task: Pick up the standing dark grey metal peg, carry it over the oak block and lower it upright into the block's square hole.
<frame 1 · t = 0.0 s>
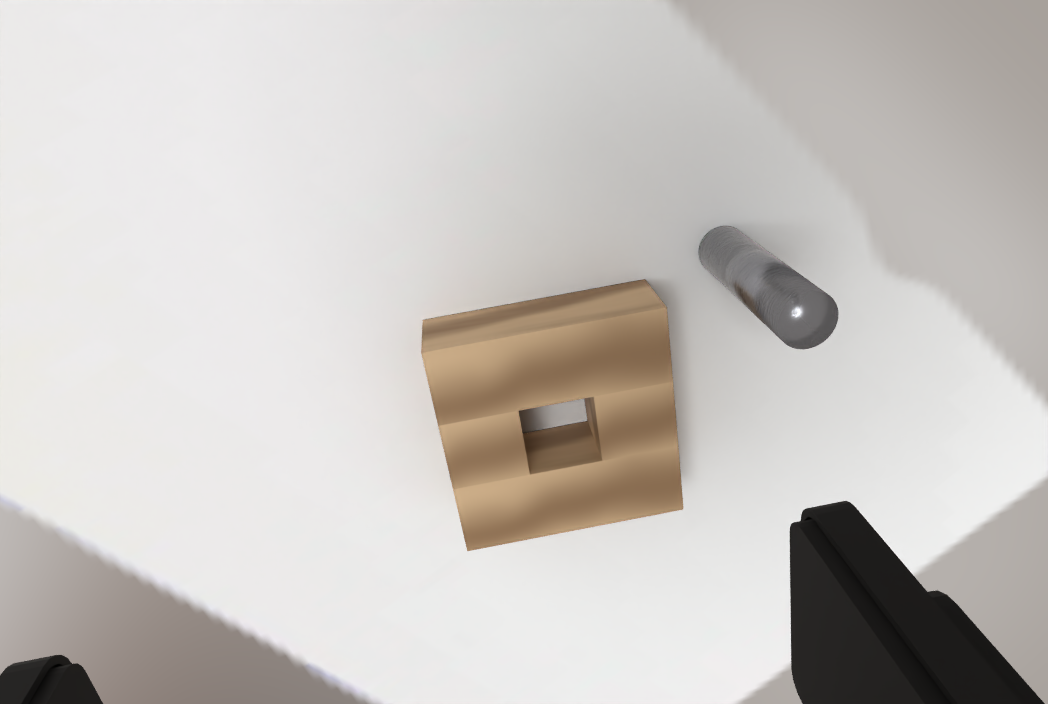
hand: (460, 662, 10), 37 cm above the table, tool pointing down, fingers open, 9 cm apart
peg: (722, 249, 47), on the table
hole block: (550, 398, 50), on the table
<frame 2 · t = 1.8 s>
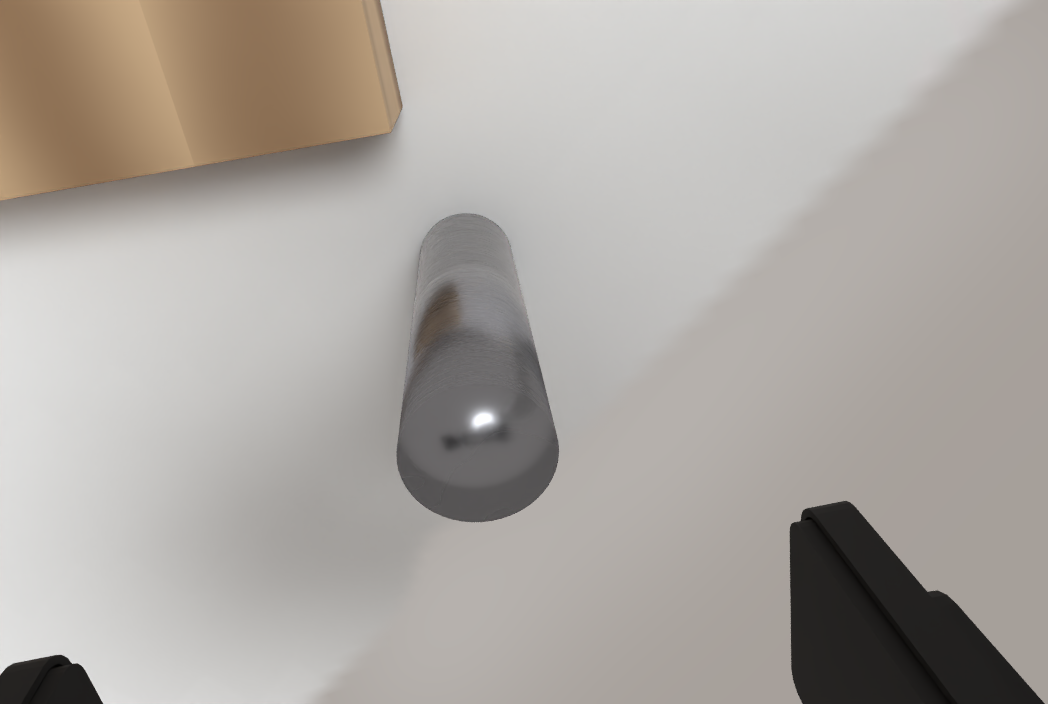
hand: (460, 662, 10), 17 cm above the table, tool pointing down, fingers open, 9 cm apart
peg: (466, 258, 25), on the table
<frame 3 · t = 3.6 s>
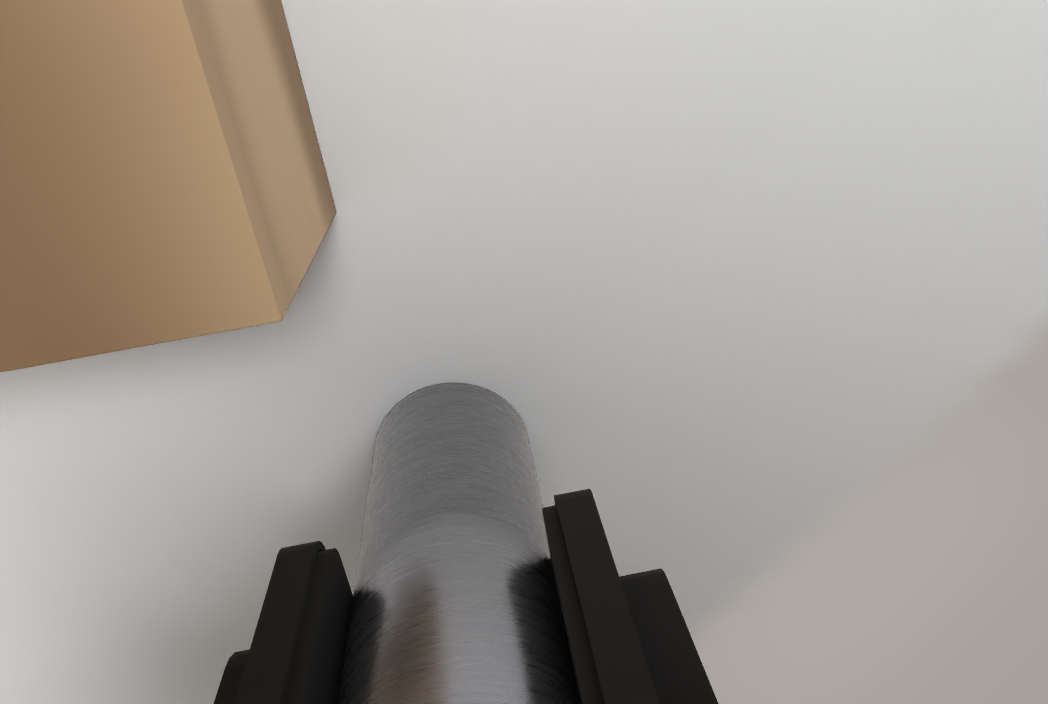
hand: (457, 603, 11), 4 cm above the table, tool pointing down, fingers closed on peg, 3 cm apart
peg: (452, 451, 15), on the table, touching gripper
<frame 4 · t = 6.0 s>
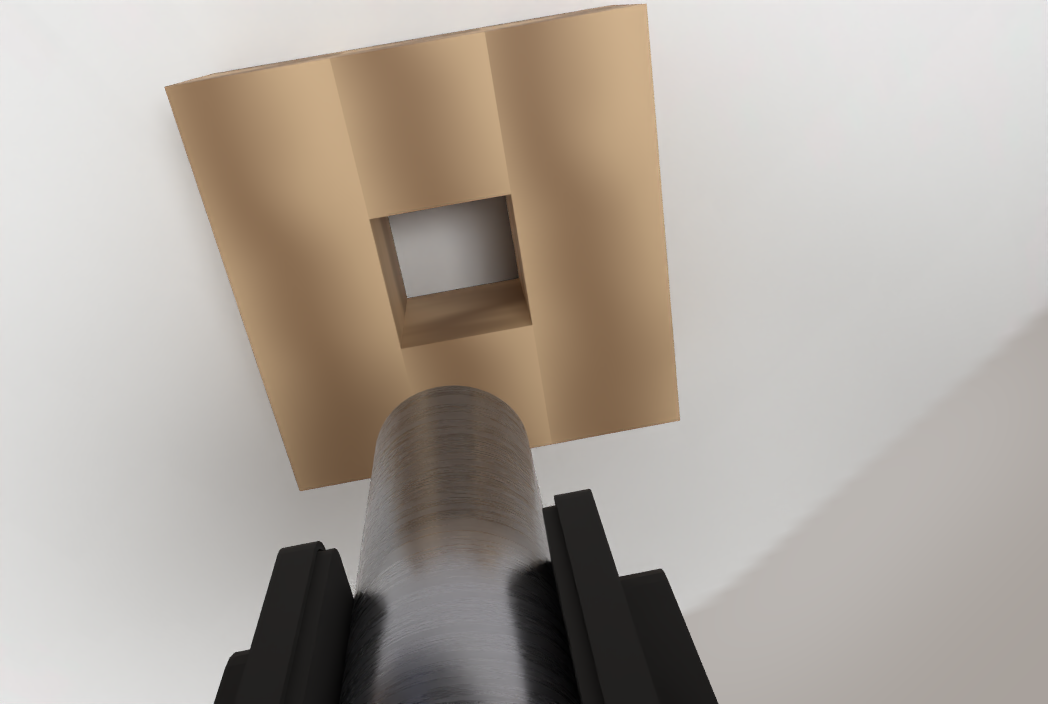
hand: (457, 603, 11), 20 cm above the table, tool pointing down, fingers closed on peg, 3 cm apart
peg: (453, 454, 15), point 16 cm above the table, touching gripper
hole block: (452, 233, 29), on the table
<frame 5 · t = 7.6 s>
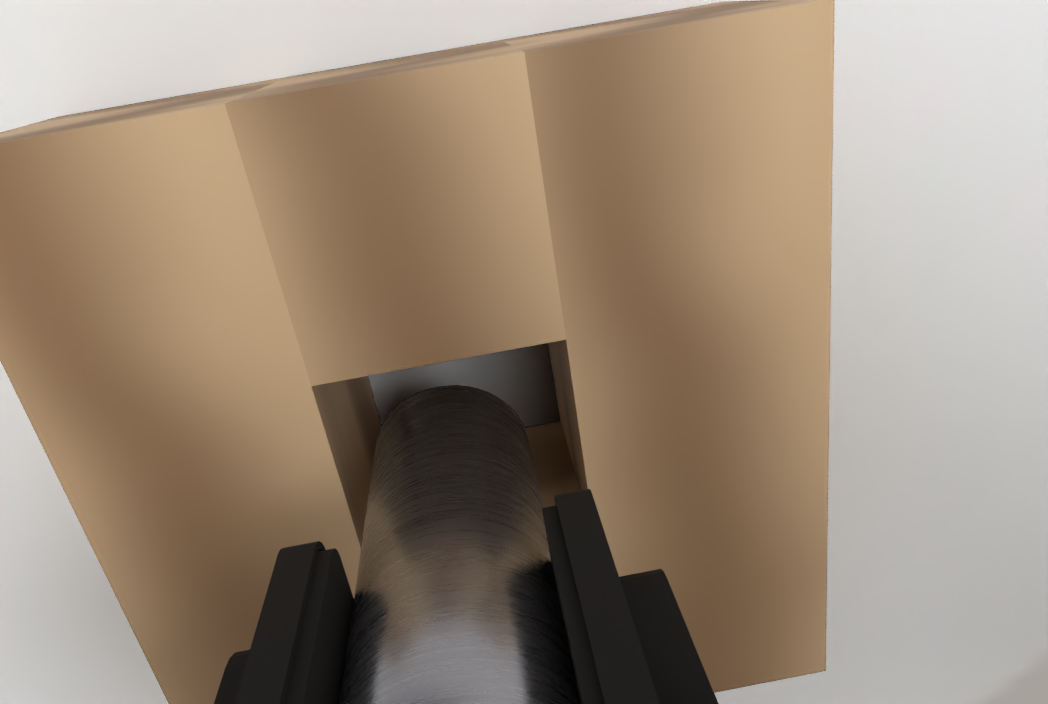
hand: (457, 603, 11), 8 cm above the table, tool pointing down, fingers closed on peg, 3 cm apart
peg: (452, 454, 15), point 4 cm above the table, touching gripper
hole block: (458, 359, 19), on the table
when the fingers open (6 cm above the table, at t = 8.7 s): peg drops 1 cm, resting in hole block.
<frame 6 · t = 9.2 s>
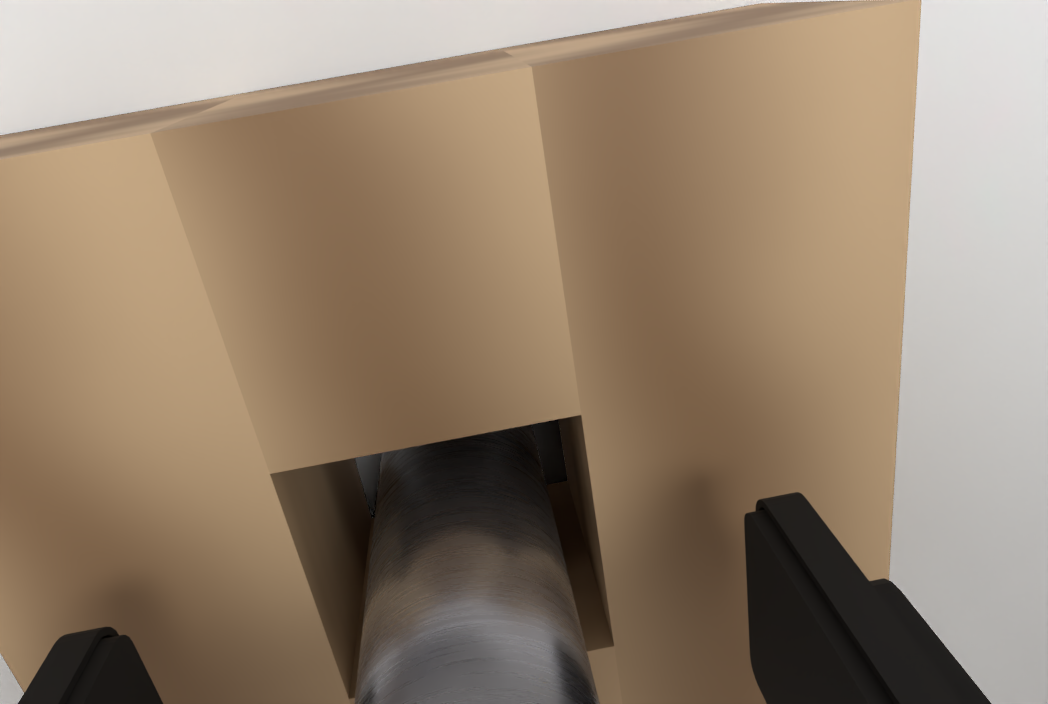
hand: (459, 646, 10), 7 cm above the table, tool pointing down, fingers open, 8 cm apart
peg: (457, 414, 16), resting in hole block
hole block: (450, 413, 16), on the table
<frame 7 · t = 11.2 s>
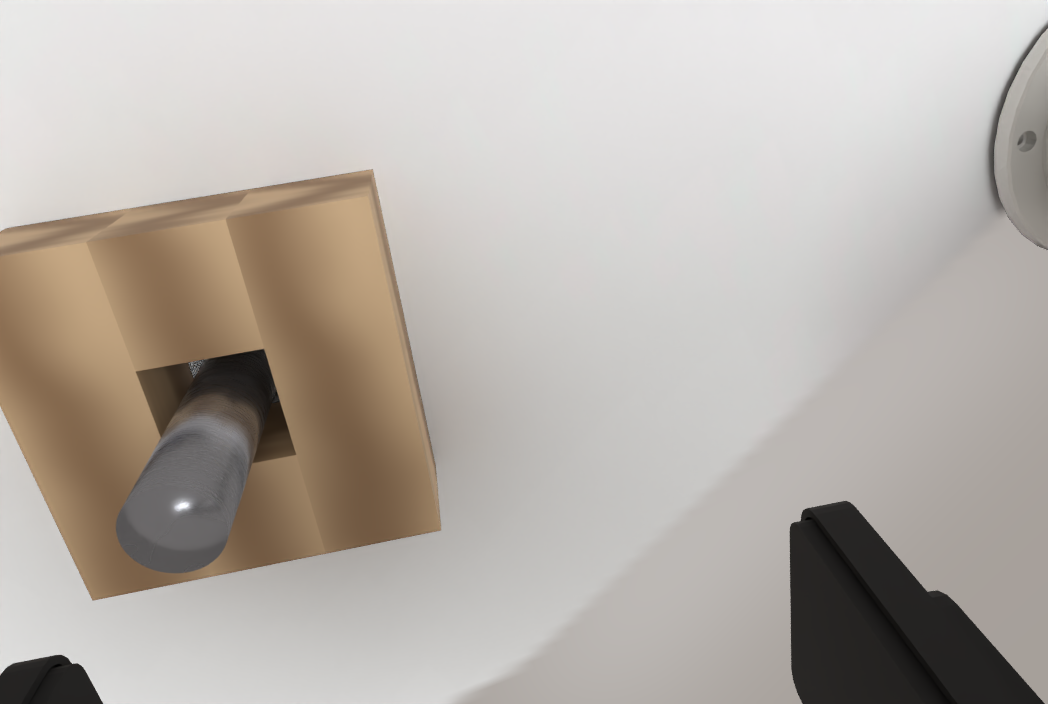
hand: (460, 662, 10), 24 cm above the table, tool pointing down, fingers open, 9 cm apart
peg: (247, 360, 33), resting in hole block
hole block: (243, 359, 33), on the table
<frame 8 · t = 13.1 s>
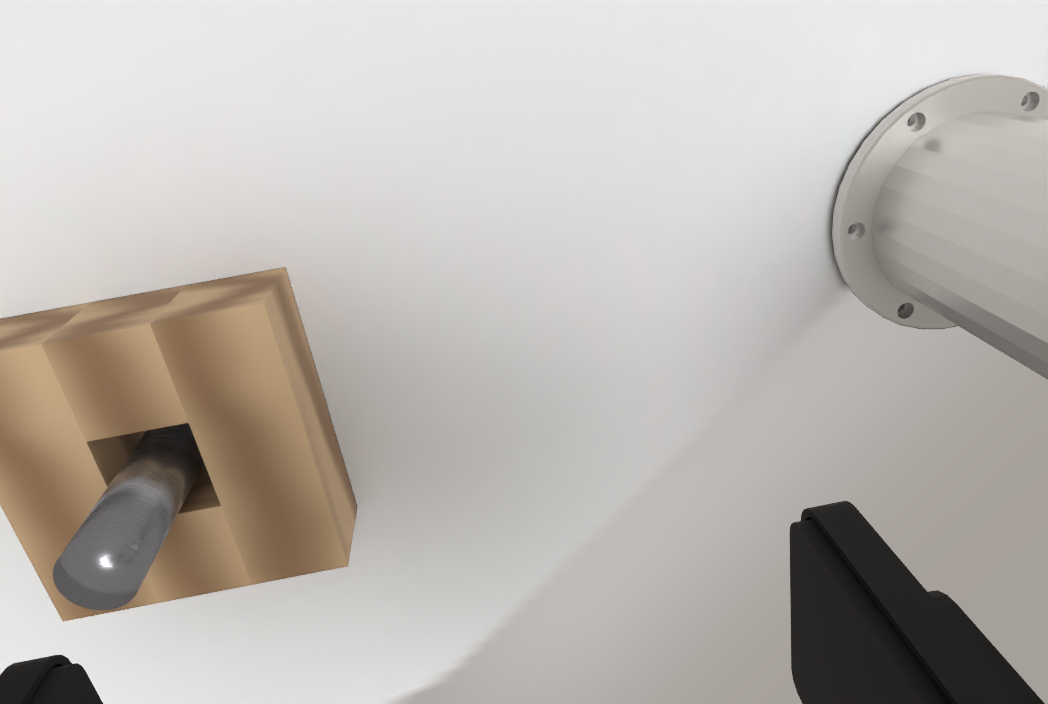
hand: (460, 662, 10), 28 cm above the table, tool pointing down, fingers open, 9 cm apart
peg: (191, 421, 39), resting in hole block
hole block: (188, 421, 39), on the table
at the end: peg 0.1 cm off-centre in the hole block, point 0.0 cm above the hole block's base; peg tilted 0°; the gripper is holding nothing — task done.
